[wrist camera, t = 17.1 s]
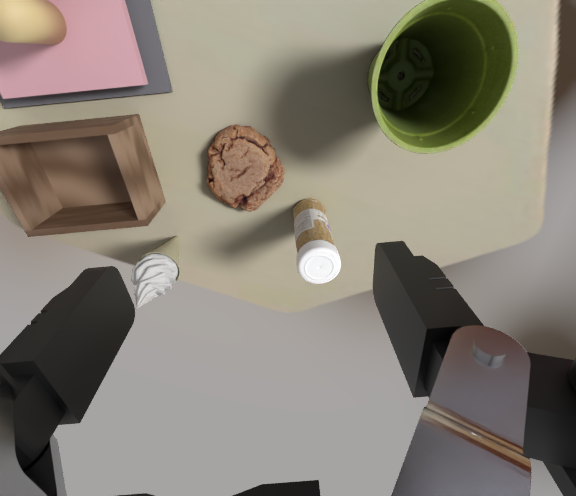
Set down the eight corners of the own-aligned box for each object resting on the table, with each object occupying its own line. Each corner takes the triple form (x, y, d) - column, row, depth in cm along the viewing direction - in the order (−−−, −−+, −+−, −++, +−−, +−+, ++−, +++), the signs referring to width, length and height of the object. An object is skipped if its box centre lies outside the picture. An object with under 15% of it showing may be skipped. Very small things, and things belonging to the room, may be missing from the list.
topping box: (20, 125, 37) (-29, 139, 31) (138, 114, 37) (112, 125, 31) (62, 211, 43) (28, 236, 37) (165, 201, 43) (147, 225, 37)
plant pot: (471, 24, 34) (550, 11, 24) (425, 138, 40) (473, 164, 30) (365, -5, 32) (404, -31, 22) (333, 118, 38) (353, 139, 28)
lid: (-51, -48, 29) (-155, -81, 22) (110, -65, 29) (57, -104, 22) (17, 96, 35) (-47, 106, 28) (151, 83, 35) (120, 90, 28)
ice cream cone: (150, 230, 45) (100, 300, 32) (181, 216, 44) (142, 282, 31) (171, 257, 47) (132, 332, 34) (201, 244, 46) (172, 317, 33)
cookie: (264, 112, 38) (263, 116, 35) (293, 191, 43) (294, 200, 40) (188, 141, 39) (182, 147, 36) (225, 215, 44) (222, 225, 42)
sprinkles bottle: (330, 215, 45) (350, 271, 33) (304, 233, 46) (313, 292, 34) (312, 190, 43) (326, 240, 31) (285, 209, 44) (288, 264, 32)
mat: (-76, -59, 29) (-81, -60, 29) (130, -81, 29) (128, -83, 28) (7, 107, 36) (4, 108, 36) (172, 91, 36) (171, 91, 36)
